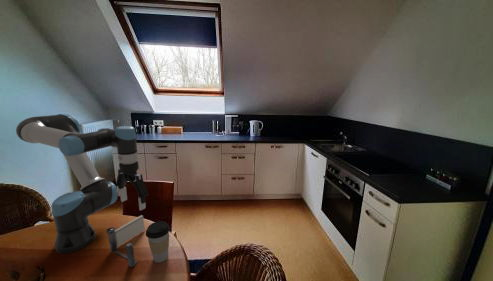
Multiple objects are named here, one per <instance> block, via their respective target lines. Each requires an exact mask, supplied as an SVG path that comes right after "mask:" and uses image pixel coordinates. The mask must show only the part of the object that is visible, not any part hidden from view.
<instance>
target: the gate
mask: <svg viewBox="0 0 493 281" xmlns="http://www.w3.org/2000/svg"><path fill="white" fill-rule="evenodd" d="M144 231H146V228H145V220H144V215H142V214H140V215H139V216H137V217H136V218H133V219H132V220H130V221H128V222H127V223H125V224H123V225H121V226H120V227H118V228H117V229H116V228H115V231H114V233H115V240H116V246H117V248H118V247H120V246H121V245H123V244H125V243H126V242H127V241H129V240H131V239H132V238H134V237H136V236H138V234H140V233H142V232H144Z"/></svg>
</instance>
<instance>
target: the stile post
mask: <svg viewBox="0 0 493 281" xmlns="http://www.w3.org/2000/svg"><path fill="white" fill-rule="evenodd" d="M133 245H134V244H133V243H131V242H128V243H126V244H125V250H126V256H127V258H128V259H127V263H128V267H130V268H134V267H135V266H136V264H135V261H136V259H135V254H134V253H135V252H134V246H133Z"/></svg>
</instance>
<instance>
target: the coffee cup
mask: <svg viewBox="0 0 493 281" xmlns="http://www.w3.org/2000/svg"><path fill="white" fill-rule="evenodd" d="M170 231H171V228H170V224H168V222H166V221H164V220H158V221H155V222H152V223H151V224H149V225H148V226H147V228H146V229H145V236H146V237H147V241H148V244H149V248H150V252H151V256H152V259H153V261H154V262H155V263H157V264H159V263H163V262H165V261H166V260H168V257H169V247H170Z"/></svg>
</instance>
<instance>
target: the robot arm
mask: <svg viewBox="0 0 493 281" xmlns="http://www.w3.org/2000/svg"><path fill="white" fill-rule="evenodd" d="M80 132H81V125H80V122H79V121H78V119H77V118H76V116H75V117H74V115H71V114H69V113H65V114H63V113H59V114H52V115H41V116H32V117H28V118H25V119H23V120H22V121H21V122H19V123H18V125H16V129H15V133H16V135H17V137H18V138H19V139H20V140H21V141H23V142H26V143H29V144H42V145H46V146H50V147H51V148H52V147H53V148H56V149H59V151H60V152H61V154H63V157H64V158H65V160H66V162H67V163H68V165H69V167H70V169H71V170H72V172H73V174H74V175H75V177H76V179H77V180H78V183H79V184H80V186H81V187H80V189H79V190H74V191H71V192H67V193H64V194H62V195H60V196H58V197H57V198H56V199H54V200H53V202H52V203H51V215H52V217H53V221H54V225H55V229H56V237H55V240H54V250H55V252H56V253H58V254H63V255H65V254H71V253H74V252H77V251H79V250H82V249H85V248H86V247H88V246H90V245H91V244H92V243H93V242H94V241H95V240H96V238H97V237H96V236H97V235H96V231H95V229H94V227H93V226H92V225H91V223H90V222H89V217H90V216H91V215H94V214H95V213H97V212H99V211H101V210H103V209H106V208H108V207H109V206H111V205H113V204H114V203H116V201H117V200H118V195H119V197H120V202H121V203H124V202H125V201H127V200H128V194H127V187H126V186H127V185H126V184H127V183H130V184H131V185H132V186H133V187H134V189H135V191H136V193H137V195H138V197H137V198H138V208H139V209H138V210H139V211H142V210H143V211H144V210H145V209H146V207H147V206H146V200H147V199H146V196H149V191H148V188H147V186H146V183H145V181H144V178H143V174H142V173H140V174H138V172H137V171H138V170H139V168H140V166H139V156H138V145H137V143H138V142H137V135H136V134H137V133H136V129H135V127H134V126H132V125H131V126H129V125H128V126H125V125H124V126H118V127H115V129H112V128H105V127H104V128H99V129H98V130H97V131H93V132H92V131H90V132H86V133H80ZM111 147H113V148H116V150H117V159H118V167H119V168H118V169H117V178H116V181H115V184H114V182H113V181H107V179H106V178H104V177H101V176H100V175H99V173H98V170H96V168H95V166H94V164H93V162H92V160H91V158H90V157H89V155H88V154H87V153H89V152H93V151H97V150H102V149H104V148H111ZM118 189H119V193H118Z"/></svg>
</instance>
